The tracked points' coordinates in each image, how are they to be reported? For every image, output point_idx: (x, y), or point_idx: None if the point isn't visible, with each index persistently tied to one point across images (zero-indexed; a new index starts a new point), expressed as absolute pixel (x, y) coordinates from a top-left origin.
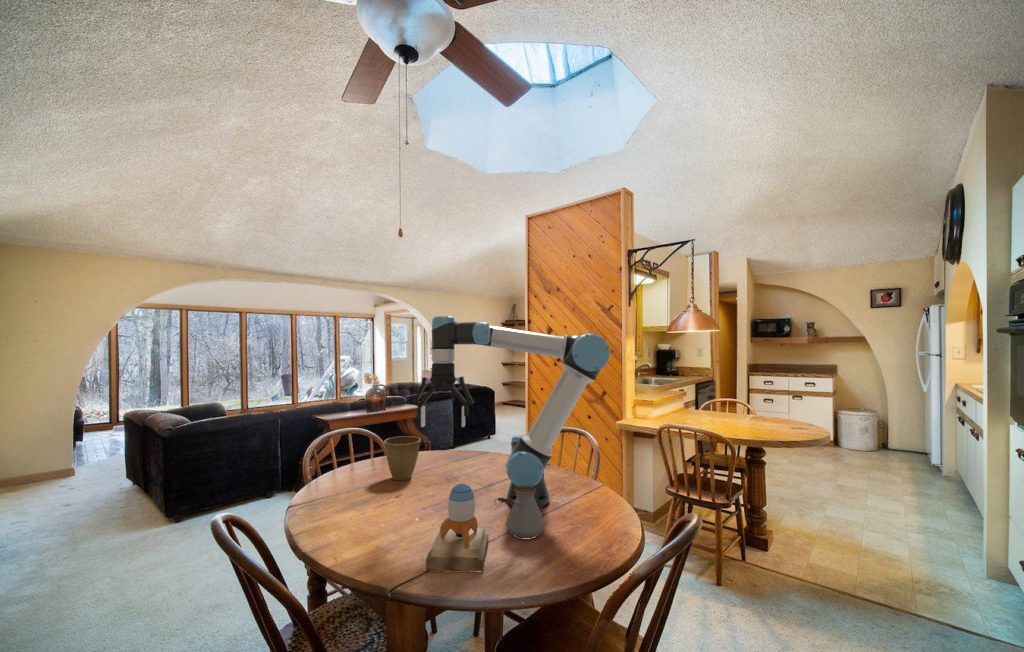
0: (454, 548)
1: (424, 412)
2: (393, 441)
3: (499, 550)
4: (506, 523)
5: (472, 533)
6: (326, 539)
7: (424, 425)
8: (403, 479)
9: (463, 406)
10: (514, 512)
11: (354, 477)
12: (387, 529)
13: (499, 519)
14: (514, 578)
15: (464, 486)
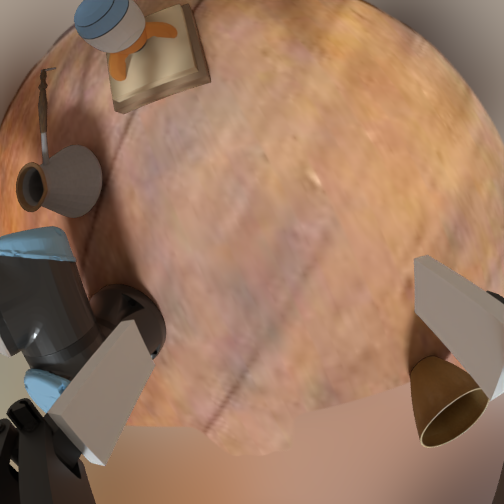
0: None
1: (467, 346)
2: (470, 417)
3: (103, 106)
4: (96, 164)
5: (127, 72)
6: (420, 69)
7: (416, 296)
8: (421, 361)
9: (77, 442)
10: (66, 158)
11: None
12: (348, 116)
13: (139, 224)
14: (75, 55)
15: (81, 3)
